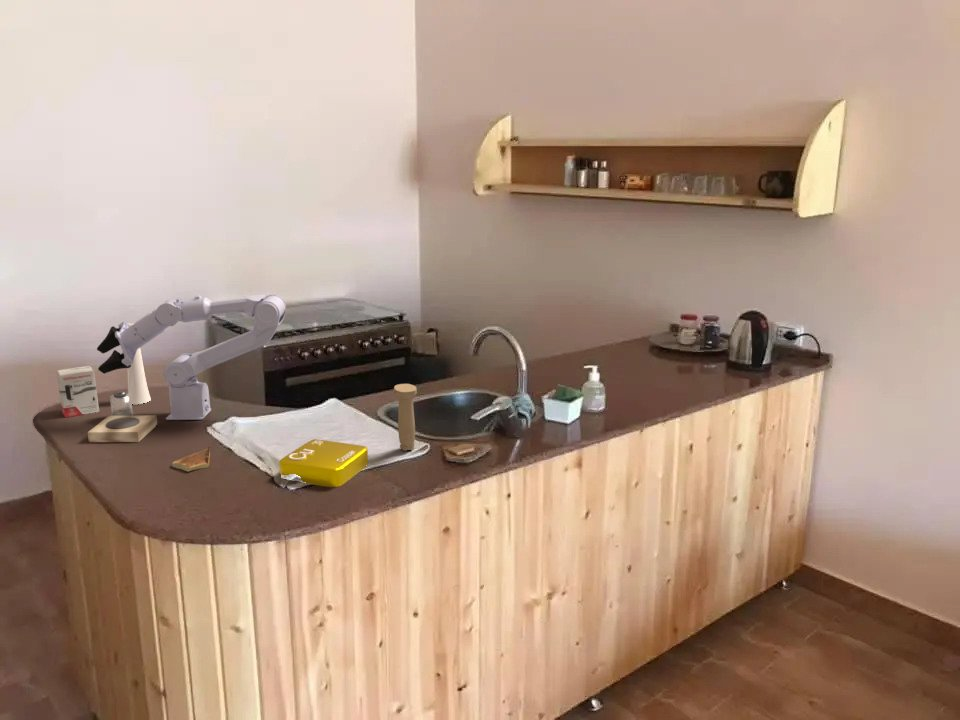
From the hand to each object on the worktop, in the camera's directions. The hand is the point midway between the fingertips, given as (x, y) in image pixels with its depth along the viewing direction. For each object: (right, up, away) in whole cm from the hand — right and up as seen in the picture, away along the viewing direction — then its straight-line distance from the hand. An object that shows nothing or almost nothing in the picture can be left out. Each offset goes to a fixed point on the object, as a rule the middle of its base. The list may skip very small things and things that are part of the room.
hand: (100, 360), depth 214 cm
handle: (+80, -21, -19) cm, 85 cm away
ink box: (-9, -14, +8) cm, 18 cm away
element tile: (+63, -25, -31) cm, 75 cm away
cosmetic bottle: (+3, -11, +16) cm, 20 cm away
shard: (+32, -24, -26) cm, 48 cm away
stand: (+9, -18, -8) cm, 22 cm away
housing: (+4, -15, +3) cm, 16 cm away
